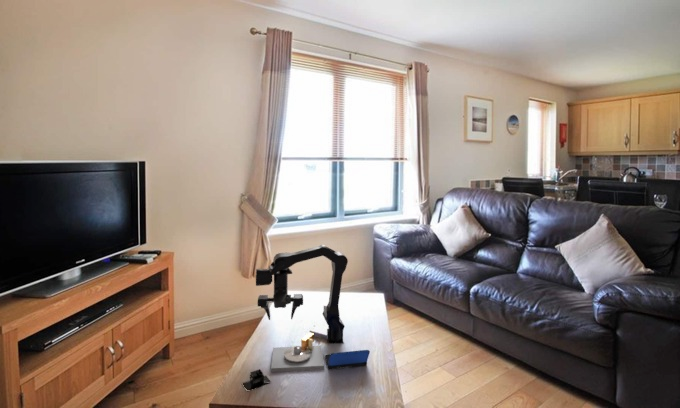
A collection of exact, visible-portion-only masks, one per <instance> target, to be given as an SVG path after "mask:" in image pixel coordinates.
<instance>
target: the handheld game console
mask: <svg viewBox="0 0 680 408" xmlns="http://www.w3.org/2000/svg"><path fill="white" fill-rule="evenodd" d="M370 352H371V351H370V350H369V349H362V350H353V351H340V352H332V353H327V354H325V355H324V358H325V364H326V366H327V370H337V369H338V370H339V369H345V368H356V367H357V368H358V367H366V366H368V359H369V357H370Z"/></svg>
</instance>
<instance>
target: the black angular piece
mask: <svg viewBox="0 0 680 408" xmlns="http://www.w3.org/2000/svg"><path fill="white" fill-rule="evenodd" d="M242 383H243V385H244V387H245V388H246V389H247V390H250V391H253V390H255V388H256V389H258V388H261V387H263V386H267V385H270V384H272V382H271V380H270V379H269V377H268V376H267V375H264V373H263V371H262V370H261V368H259V369H257V370H253V371H251V372H250V374H249V380H247V381H244V382H242ZM244 387H243V388H244ZM252 389H253V390H252Z"/></svg>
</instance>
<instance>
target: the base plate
mask: <svg viewBox="0 0 680 408" xmlns="http://www.w3.org/2000/svg"><path fill="white" fill-rule="evenodd" d="M313 343H314V342H313V339H308V347H307V348H308V349H309V350H310V352H311V356H310V358H309V359H308V360H307V361H304V362H301V363H292V362H289V361H287V360H286V359H285V357H284V353H285V351H286V350H287V349H288V348H290V347H291V346H284V347H283V346H281V347H272V357H271V363H270V364H271V367H270V372H271V373H278V372H280V373H281V372H300V371H317V370H325V364H324V362H325V361H324V357H323V350H322V345H314V344H313Z"/></svg>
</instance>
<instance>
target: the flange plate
mask: <svg viewBox="0 0 680 408" xmlns="http://www.w3.org/2000/svg"><path fill="white" fill-rule="evenodd" d="M308 339H313V343H314V342H315V333H313V332H309V333H307V334H306V335H305V336H304V337H303V338H302V339H301V341H300V342H301V345H295V346H294V345H293V346H289V347H290V348H288V349H287V350H286V351H285V353H284V357H285V359H286V360H287V361H289V362H292V363H301V362H304V361H307V360H308V359H309V358H310V356H311V352H310V350H309V349H308V348H307V347H308Z"/></svg>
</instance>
